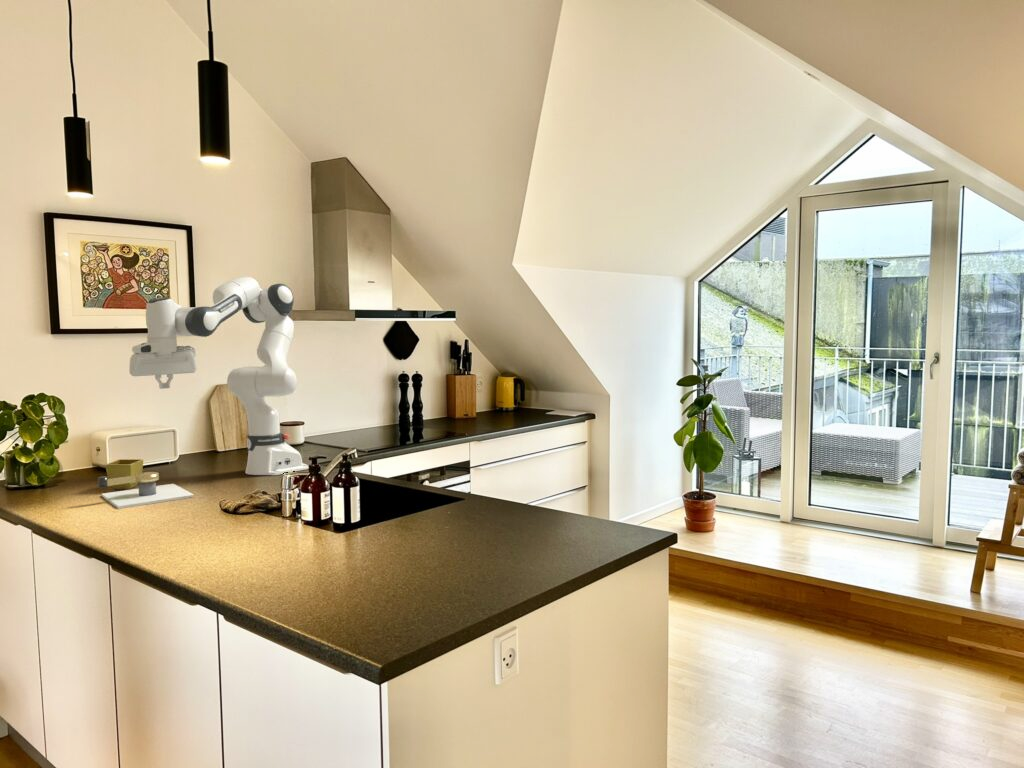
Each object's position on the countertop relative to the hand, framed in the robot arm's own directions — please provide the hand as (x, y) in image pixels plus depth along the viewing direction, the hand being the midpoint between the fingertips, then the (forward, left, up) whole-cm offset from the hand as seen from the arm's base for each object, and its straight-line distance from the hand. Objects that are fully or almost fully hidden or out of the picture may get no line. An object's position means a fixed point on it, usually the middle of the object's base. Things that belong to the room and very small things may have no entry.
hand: (164, 388), depth 251 cm
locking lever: (+14, +8, -28) cm, 33 cm away
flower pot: (+11, -11, -34) cm, 37 cm away
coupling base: (+9, +8, -34) cm, 36 cm away
